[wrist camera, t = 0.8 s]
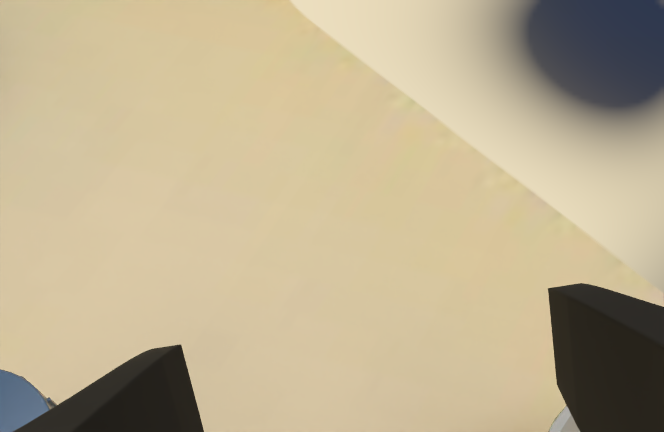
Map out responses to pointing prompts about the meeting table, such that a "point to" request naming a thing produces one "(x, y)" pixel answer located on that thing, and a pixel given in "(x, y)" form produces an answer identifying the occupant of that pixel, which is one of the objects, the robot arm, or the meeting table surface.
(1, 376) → the lid
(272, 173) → the meeting table surface
